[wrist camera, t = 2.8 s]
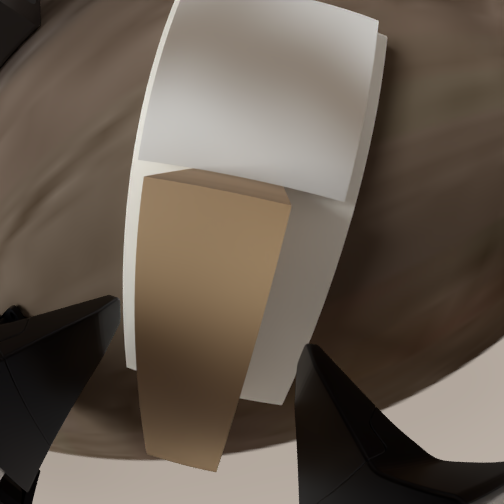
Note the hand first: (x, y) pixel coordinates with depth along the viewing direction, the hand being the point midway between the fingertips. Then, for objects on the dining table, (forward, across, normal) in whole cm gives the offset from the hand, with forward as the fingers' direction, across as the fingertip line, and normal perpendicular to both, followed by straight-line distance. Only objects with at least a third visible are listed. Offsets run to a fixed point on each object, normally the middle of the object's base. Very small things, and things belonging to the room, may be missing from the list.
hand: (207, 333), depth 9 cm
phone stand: (+2, +16, -14) cm, 21 cm away
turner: (+1, 0, -4) cm, 4 cm away
